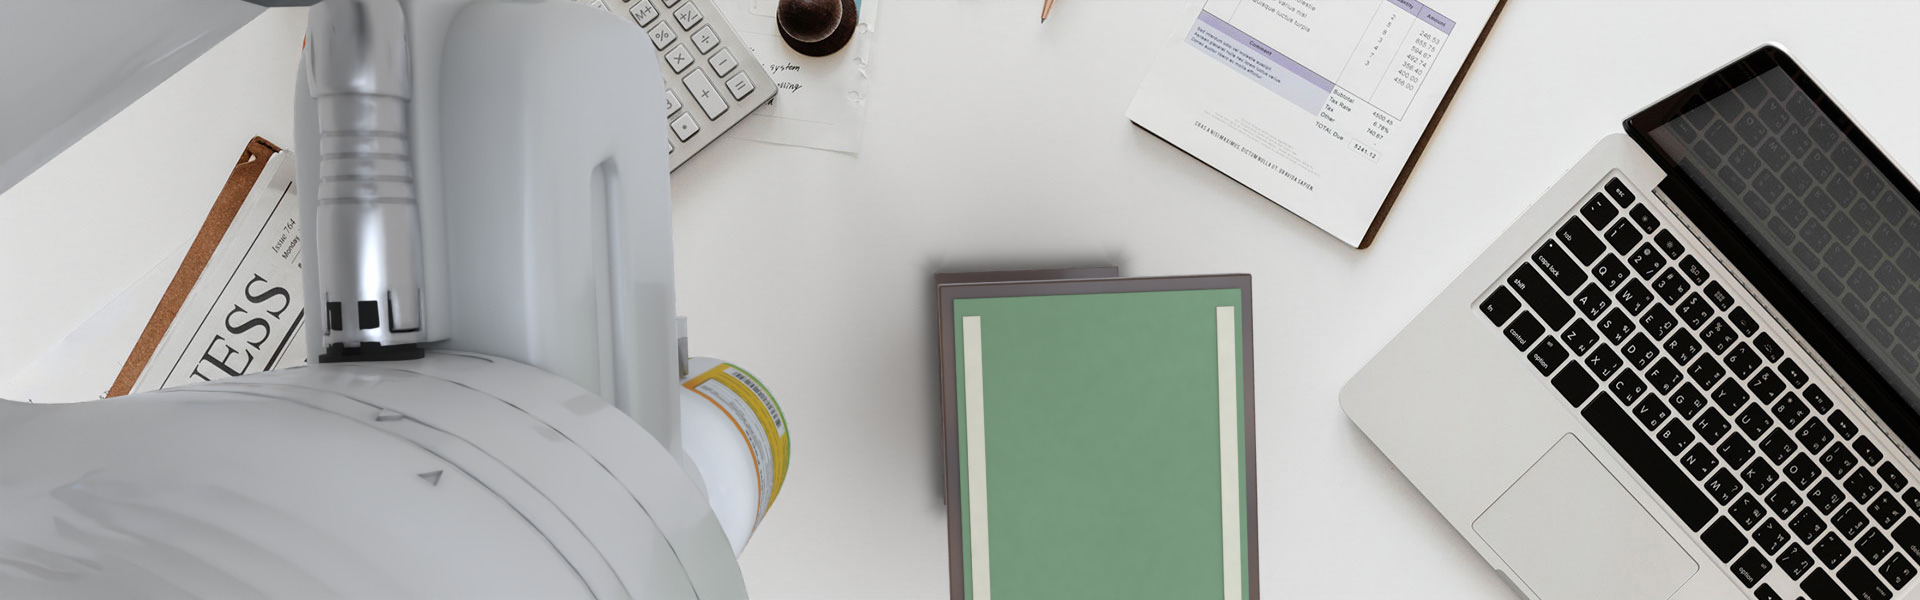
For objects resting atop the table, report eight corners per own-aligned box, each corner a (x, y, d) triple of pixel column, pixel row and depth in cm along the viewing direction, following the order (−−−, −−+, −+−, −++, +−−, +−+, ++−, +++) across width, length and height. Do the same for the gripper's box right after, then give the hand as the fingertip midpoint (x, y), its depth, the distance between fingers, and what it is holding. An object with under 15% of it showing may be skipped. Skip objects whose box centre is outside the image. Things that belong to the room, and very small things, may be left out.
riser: (934, 272, 65) (938, 285, 37) (1113, 266, 65) (1252, 273, 37) (943, 499, 65) (953, 681, 37) (1120, 491, 65) (1262, 667, 38)
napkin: (953, 299, 37) (953, 299, 36) (1238, 288, 37) (1242, 288, 37) (967, 667, 37) (967, 671, 37) (1248, 654, 37) (1251, 658, 37)
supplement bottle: (598, 520, 31) (448, 638, 22) (625, 342, 31) (486, 379, 21) (778, 548, 31) (710, 677, 22) (806, 370, 31) (750, 420, 22)
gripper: (46, -144, 12) (514, 68, 26) (161, 1526, 13) (556, 875, 27) (593, -157, 12) (770, 61, 26) (672, 1493, 13) (803, 863, 27)
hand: (662, 480), depth 27 cm, fingers closed on supplement bottle, 5 cm apart
